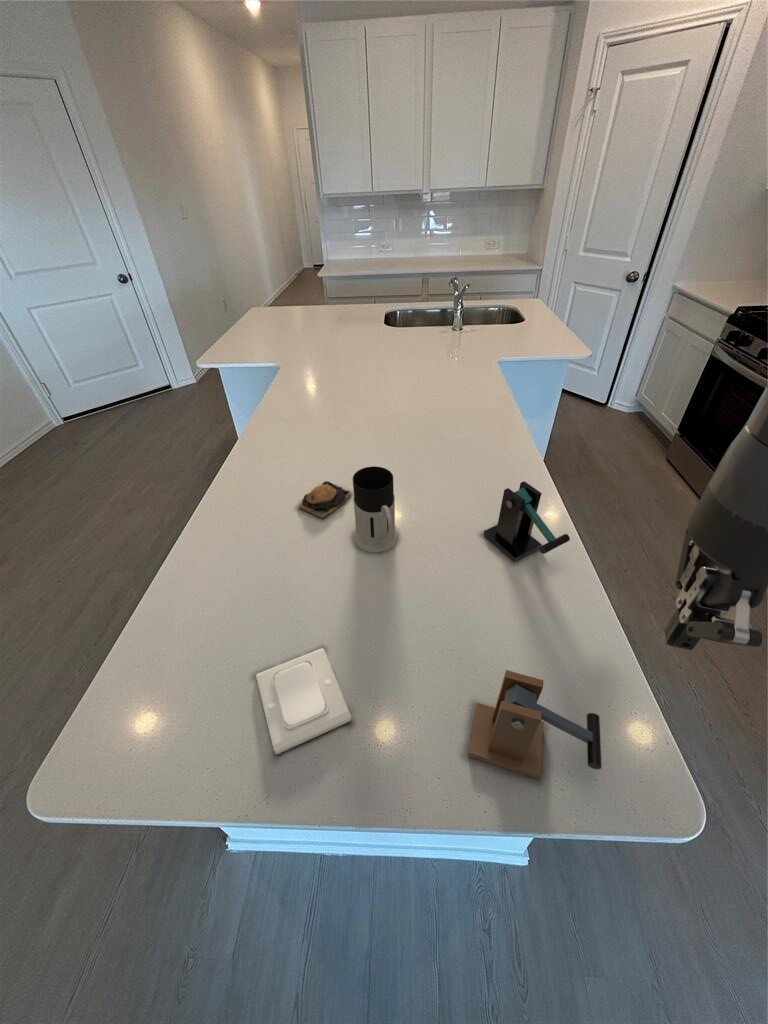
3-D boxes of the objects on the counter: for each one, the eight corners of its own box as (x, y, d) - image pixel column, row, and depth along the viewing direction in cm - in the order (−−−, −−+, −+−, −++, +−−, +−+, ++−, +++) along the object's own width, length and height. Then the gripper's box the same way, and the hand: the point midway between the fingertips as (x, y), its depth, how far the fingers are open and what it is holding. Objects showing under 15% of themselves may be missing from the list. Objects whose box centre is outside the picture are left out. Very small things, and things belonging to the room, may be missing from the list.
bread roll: (324, 521, 94) (322, 508, 92) (295, 507, 98) (293, 494, 96) (354, 495, 101) (353, 482, 99) (326, 483, 105) (325, 470, 102)
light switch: (320, 636, 68) (349, 707, 59) (324, 652, 71) (352, 722, 61) (251, 663, 65) (269, 742, 56) (257, 679, 68) (276, 757, 58)
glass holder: (389, 519, 94) (387, 460, 85) (413, 565, 84) (414, 504, 74) (349, 528, 92) (343, 469, 83) (369, 576, 82) (365, 516, 72)
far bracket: (540, 548, 86) (555, 497, 78) (514, 562, 84) (526, 511, 76) (508, 523, 92) (519, 473, 84) (483, 535, 90) (491, 485, 82)
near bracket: (541, 726, 60) (564, 677, 52) (538, 779, 55) (563, 735, 47) (476, 706, 63) (487, 657, 55) (467, 756, 58) (479, 710, 49)
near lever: (591, 721, 55) (604, 715, 54) (593, 771, 51) (607, 766, 49) (506, 677, 55) (517, 669, 53) (501, 723, 51) (512, 717, 49)
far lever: (565, 543, 79) (572, 537, 77) (541, 556, 77) (548, 550, 75) (525, 491, 84) (531, 484, 82) (501, 501, 81) (507, 495, 79)
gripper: (894, 576, 24) (743, 720, 36) (802, 452, 34) (706, 596, 45) (738, 550, 26) (641, 694, 38) (693, 440, 36) (626, 581, 47)
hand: (676, 640), depth 41 cm, fingers closed
